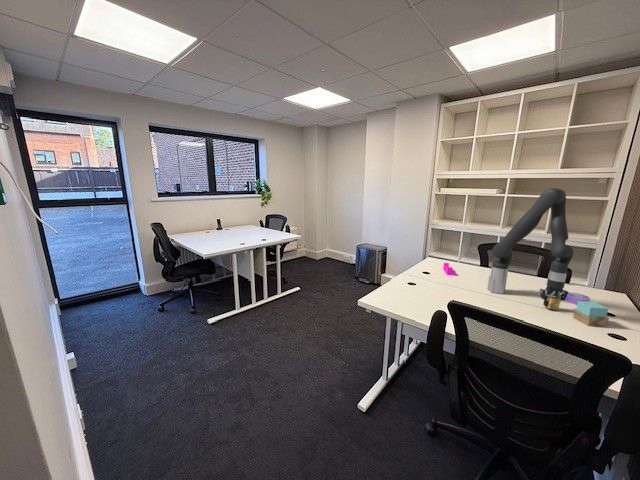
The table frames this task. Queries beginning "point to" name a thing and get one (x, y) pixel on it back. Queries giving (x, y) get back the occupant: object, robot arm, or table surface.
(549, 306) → the ochre block
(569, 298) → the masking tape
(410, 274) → the table surface
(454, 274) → the magenta irregular piece
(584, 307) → the block
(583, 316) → the tower base
